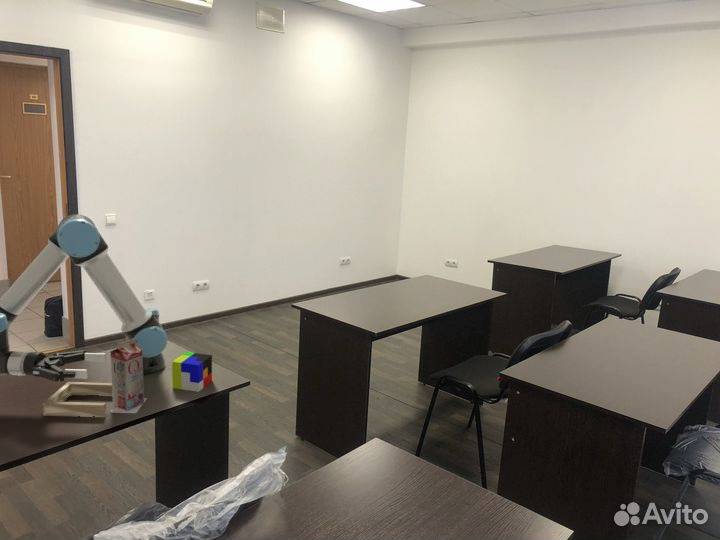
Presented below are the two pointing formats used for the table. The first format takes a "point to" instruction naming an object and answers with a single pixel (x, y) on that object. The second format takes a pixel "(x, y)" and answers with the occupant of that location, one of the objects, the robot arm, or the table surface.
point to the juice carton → (127, 375)
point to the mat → (118, 410)
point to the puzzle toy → (192, 371)
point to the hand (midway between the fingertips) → (96, 365)
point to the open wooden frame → (82, 409)
